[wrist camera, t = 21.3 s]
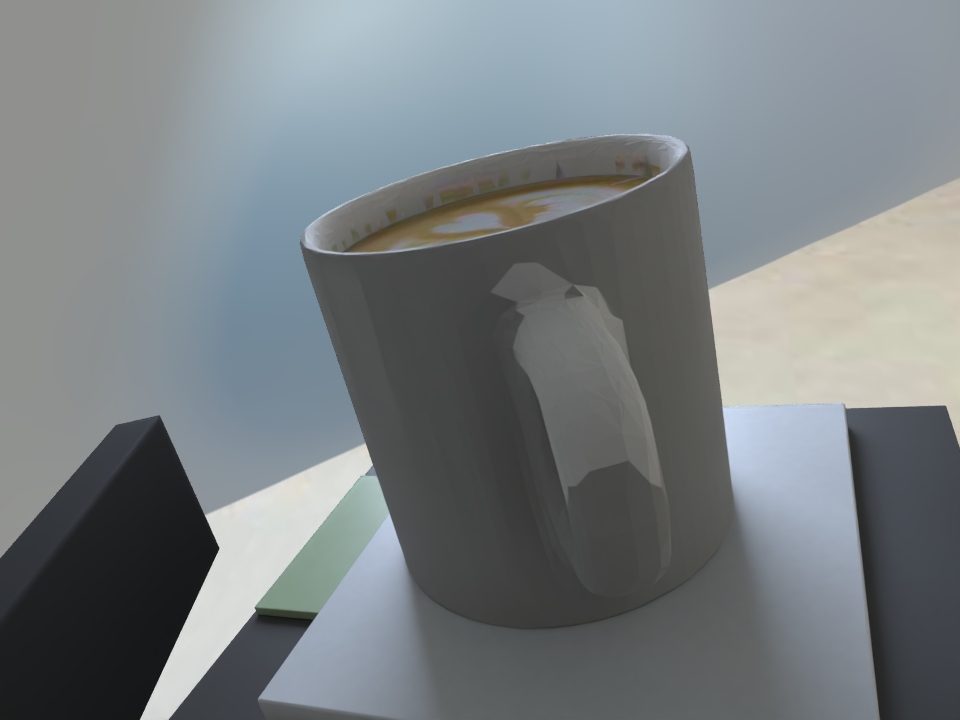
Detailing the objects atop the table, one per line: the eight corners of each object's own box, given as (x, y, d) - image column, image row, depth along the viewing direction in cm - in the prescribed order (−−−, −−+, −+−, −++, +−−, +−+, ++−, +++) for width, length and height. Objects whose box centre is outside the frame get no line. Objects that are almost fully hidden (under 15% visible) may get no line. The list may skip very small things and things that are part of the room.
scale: (194, 817, 21) (138, 718, 20) (425, 479, 34) (402, 405, 33) (1098, 1027, 13) (1119, 887, 12) (945, 481, 26) (946, 383, 25)
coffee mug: (422, 452, 29) (342, 188, 25) (693, 402, 27) (653, 116, 24) (355, 777, 17) (176, 360, 13) (836, 715, 15) (803, 228, 11)
